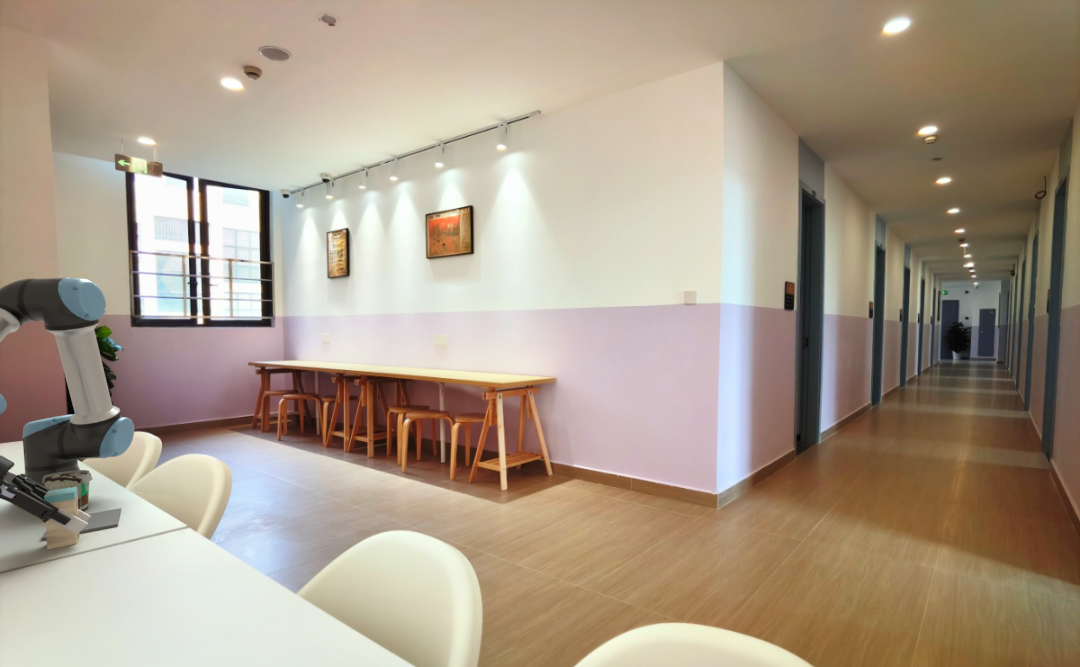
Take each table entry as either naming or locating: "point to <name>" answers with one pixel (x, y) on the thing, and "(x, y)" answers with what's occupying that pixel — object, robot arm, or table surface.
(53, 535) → the maple block
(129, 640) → the table surface
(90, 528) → the charcoal mat
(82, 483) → the food container
